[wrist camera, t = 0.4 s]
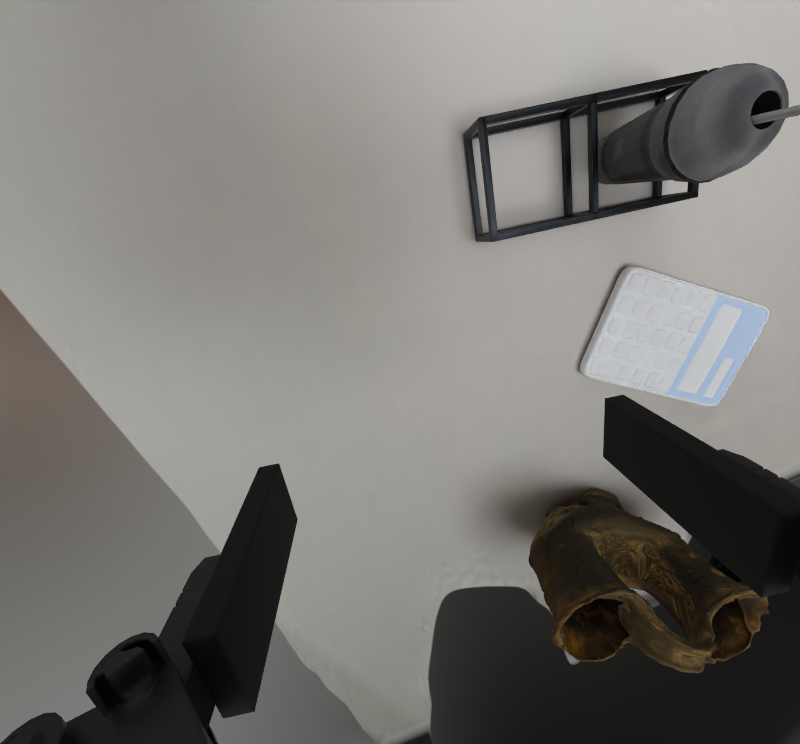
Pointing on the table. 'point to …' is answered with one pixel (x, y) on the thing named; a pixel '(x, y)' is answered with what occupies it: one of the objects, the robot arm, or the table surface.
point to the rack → (567, 154)
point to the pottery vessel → (639, 569)
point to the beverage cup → (700, 129)
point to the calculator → (672, 337)
